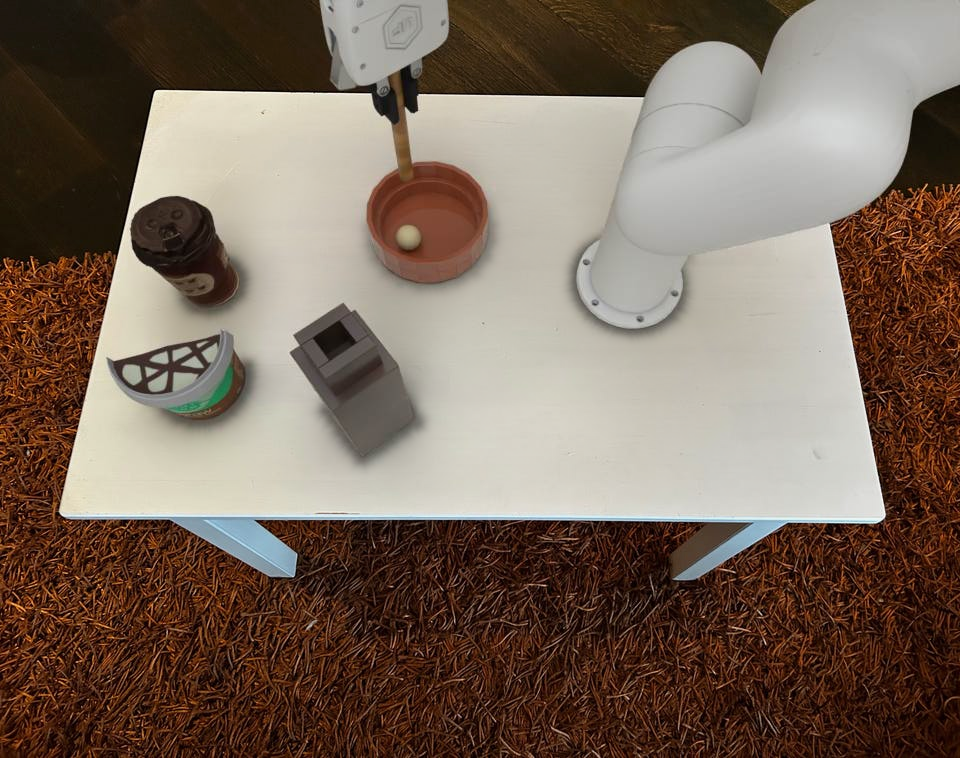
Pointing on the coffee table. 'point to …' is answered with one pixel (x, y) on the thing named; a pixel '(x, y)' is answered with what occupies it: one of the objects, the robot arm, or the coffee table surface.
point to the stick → (401, 131)
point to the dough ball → (408, 237)
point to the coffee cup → (184, 249)
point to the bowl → (429, 221)
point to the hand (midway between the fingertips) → (397, 108)
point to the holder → (354, 377)
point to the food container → (184, 377)
